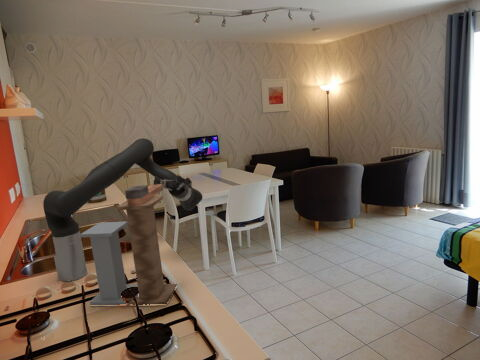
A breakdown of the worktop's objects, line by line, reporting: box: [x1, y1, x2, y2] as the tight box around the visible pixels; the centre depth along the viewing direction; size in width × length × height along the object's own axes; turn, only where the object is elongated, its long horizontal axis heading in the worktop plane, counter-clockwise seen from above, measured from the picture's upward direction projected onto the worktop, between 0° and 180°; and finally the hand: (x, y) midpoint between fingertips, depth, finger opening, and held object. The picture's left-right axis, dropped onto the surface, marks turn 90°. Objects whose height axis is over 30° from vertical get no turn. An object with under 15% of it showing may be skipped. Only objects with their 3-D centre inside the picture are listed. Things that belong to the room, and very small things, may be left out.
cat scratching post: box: [116, 195, 178, 305], centre depth 109 cm, size 12×11×32 cm
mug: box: [87, 189, 107, 204], centre depth 253 cm, size 20×14×15 cm
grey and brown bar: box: [124, 184, 164, 206], centre depth 110 cm, size 4×19×4 cm, turn 173°
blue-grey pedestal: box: [80, 220, 138, 306], centre depth 112 cm, size 12×11×24 cm
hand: (166, 178), depth 130 cm, fingers open, 8 cm apart
